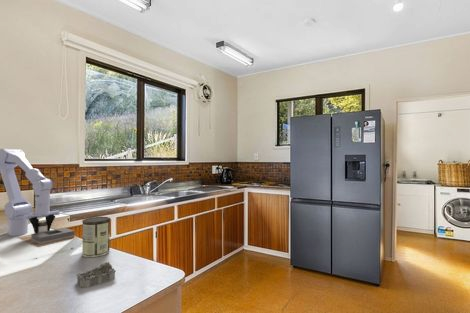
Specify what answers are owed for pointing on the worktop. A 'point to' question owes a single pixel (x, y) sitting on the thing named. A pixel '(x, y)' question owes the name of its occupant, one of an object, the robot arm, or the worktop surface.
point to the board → (28, 239)
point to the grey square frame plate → (52, 235)
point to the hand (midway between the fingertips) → (42, 231)
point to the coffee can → (96, 236)
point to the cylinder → (42, 227)
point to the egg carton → (96, 275)
